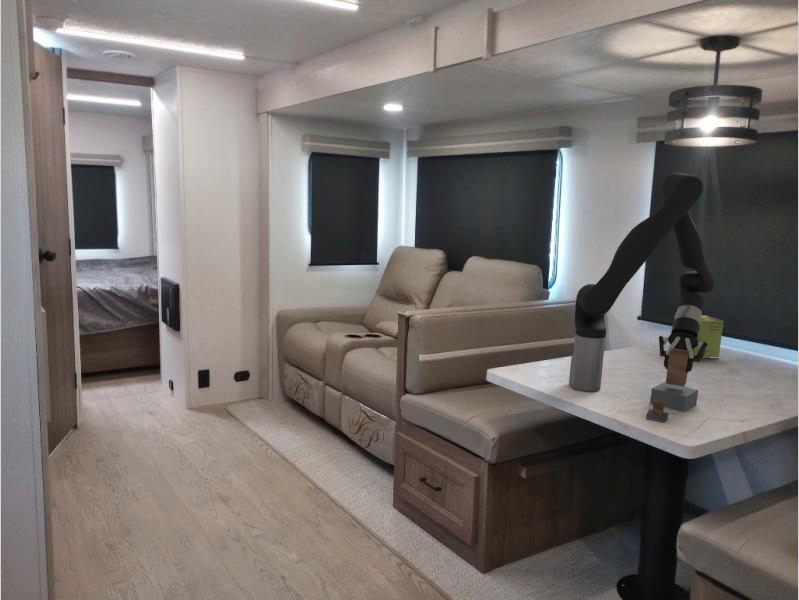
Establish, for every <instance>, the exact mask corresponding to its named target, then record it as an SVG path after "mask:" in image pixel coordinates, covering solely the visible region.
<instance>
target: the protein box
mask: <svg viewBox="0 0 799 600" xmlns="http://www.w3.org/2000/svg"><path fill="white" fill-rule="evenodd" d="M672 319H673V320H672V324H673V323H674V319H675V315H674V316H673V318H672ZM671 327H673V325H672V326H671ZM723 328H724V320H723V319H719V318H715V317H712V316H708V315H702V319H701V326H700V330H699V335H698V341H699V342H701V343H704V342H706V343H707V350H706V352H705V354H704V356H703V358H710V357H720V352H721V345H722V336H723ZM692 352H693V356H696V355H697V353H698V352H699V346H697V347H695V348H694V349H693V350H692Z"/></svg>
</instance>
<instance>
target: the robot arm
mask: <svg viewBox="0 0 799 600" xmlns="http://www.w3.org/2000/svg"><path fill="white" fill-rule="evenodd" d="M703 191H704V182H703V180H702V179H701V178H700V177H698V176H696V175H692V174H687V173H681V172H673V173H670V174H668V175H667V176H666V177H664V179H663V180H662V182H661V187H660V192H661V193H660V194H661V196H662V200H663V204H662V206H661V207H660V208H659V209H657V210H656V211H655V212H654V213H653V214H652V215H650V216H649V217H647V218H645V219H644V220H642V221H640V222H639V223H638V224H637V225H635V226H634V227H633V228H631V230H630V231H629V232H628V233H627V235H626V236H625V237H624V238H623V240H622V241H621V243H620V244H619V245H618V247H617V249H616V251H615V253H614V256H613V258H612V260H611V263H610V264H609V267H608V269H607V270H606V272H605V273H604V274H603V276H602V277H601V278H600V279H599V280H598V281H597V282H596V283H588V284H585V285H584V286H582V287H581V288H580V289H579V290H578V292H577V295H576V297H575V299H576V300H575V307H574V309H575V310H574V327H575V333H574V334H575V335H574V344H573V355H571V357H570V367H569V379H568V384H569V386H570V387H571V388H572V389H573V390H576V391H582V392H590V391H593V392H599V391H601V385H602V376H603V368H604V367H603V364H604V357H605V355H604V354H605V346H606V339H607V338H606V336H607V327H606V324H605V315H606V314H607V313H608V312H610V310H611V309H612V307H613V306H614V304H615V302H616V301H617V299H619V296H620V294H621V293H622V291H624V288H625V287H626V286H627V285H628V283H629V282H630V281H631V280H632V279H633V277H634V276H635V275H636V274H637V272H638V271H639V270H640V269H641V268H642V266H643V265H644V264H645V263H646V262H647V261H648V260H649V258H650V257H651V256H652V255H653V253H654V251H656V250H657V248H658V246H659V245H660V244H661V242H662V241H663V240H664V239H665V238H666V236H667V235H668V234H669V233H670V232H671V230H672V229H673V232H674V235H675V240H676V244H677V245H676V246H677V251H678V257H679V262H680V265H681V266H682V267H683V268H687V269H692V270H695V271H684V272H682V273H681V274H680V275H679V276H678V278H677V284H678V290H679V302H678V307H677V311H675V315H674V316H675V319H674V323H673V322H672V326H673V327H672V326H671V327H672V328H671V330H670V331H671V332H670V335H668V337H664V336H662V335H659V337H658V346H659V356H660V357H662V358H664V360H663V367H664V368H665V370H667V368H668V360H669V351H670V350H671V349H674V348H677V349H684V350H688V351H690V352H689V359H688V362H687V367H686V373H687V374H689V372H691V371H692V370H693V365H694V363H695V362H696V363H701V361H702V360H703V359H702V358H703V356H704V354H705V352H706V350H707V343H706V342H704V343H701V342H699V341H698V335H699V330H700V326H701V319H702V316H703V314H702V313H703V310H704V309H703V308H704V305H705V298H704V296H702V294H707V293H711V292H712V291H713V289H714V288H715V285H716V281H715V277H714V274H713V272H712V270H711V269H710V267H709V265H708V263H707V261H706V258H705V253H704V248H703V247H704V246H703V242H702V241H703V240H702V237H701V236H700V233H699V232H700V231H698V229H697V227H696V225H695V223H694V221H693V218H692V217H691V214H690V210H691V209H692V208H693V207H694V205H695V204H697V202H699V199H700V198H701V197H702V194H703ZM667 343H668V344H669V345H670V346H669V347H668V349H667V351H666V350H665V345H667ZM697 346H699V352H698V353H697V355H696V356H693V352H692V350H693V349H694V348H695V347H697Z"/></svg>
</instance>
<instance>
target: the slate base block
mask: <svg viewBox="0 0 799 600" xmlns="http://www.w3.org/2000/svg"><path fill="white" fill-rule="evenodd" d="M698 395H699V389H697V388H691V387H687V386H684V387H682V386H677V385H671V384H666V381H664V382H662V383H659V384H658V385H656V386H654V387H652V388H651V392H650V401H649V404H650V403H652V404H651V405H653V402H654V400H655V399H657V400H662V401H665V402H664V408H666V407H667V408H666V409H669V408H670V409H669V410H673V409H674V411H678V412H681V413H686V412H687V411H689V410H691V409H692V408H694V407H695V406H697V402H698Z"/></svg>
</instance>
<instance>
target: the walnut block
mask: <svg viewBox="0 0 799 600" xmlns="http://www.w3.org/2000/svg"><path fill="white" fill-rule="evenodd" d="M689 352H690V351H688V350H684V349H677V348H674V349H671V350H670V351H669V360H668V368H667V369H666V378H665V379H666V380H665V382H666V384H671V385H677V386H682V387H686V386H685V385H686V384H687V379H688V373H686V367H687V362H688V359H689Z"/></svg>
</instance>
